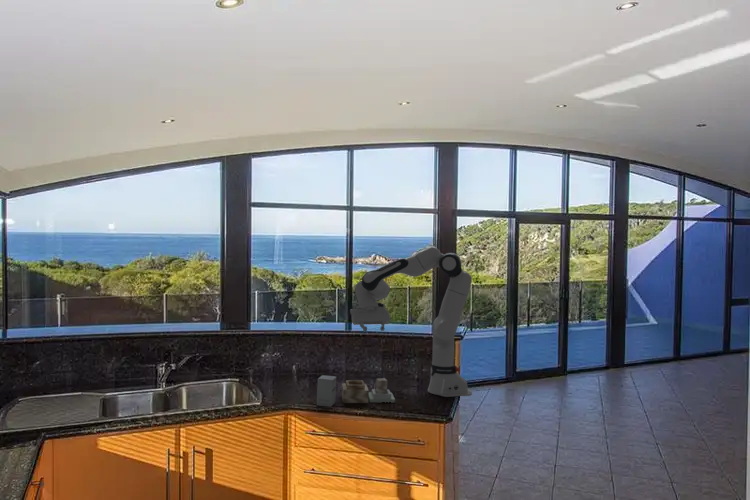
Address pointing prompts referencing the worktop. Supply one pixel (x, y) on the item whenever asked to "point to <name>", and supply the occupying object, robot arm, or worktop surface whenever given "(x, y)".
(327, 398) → the supplement box
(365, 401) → the birch stand
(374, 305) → the robot arm
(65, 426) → the worktop surface
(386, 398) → the sage socket plate
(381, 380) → the cream plug block
